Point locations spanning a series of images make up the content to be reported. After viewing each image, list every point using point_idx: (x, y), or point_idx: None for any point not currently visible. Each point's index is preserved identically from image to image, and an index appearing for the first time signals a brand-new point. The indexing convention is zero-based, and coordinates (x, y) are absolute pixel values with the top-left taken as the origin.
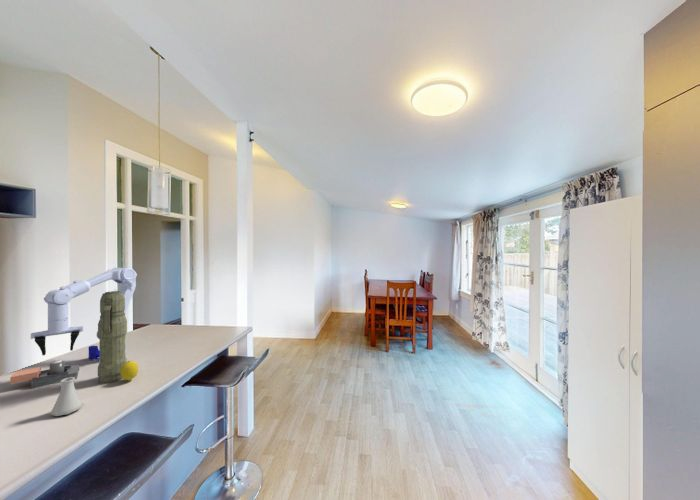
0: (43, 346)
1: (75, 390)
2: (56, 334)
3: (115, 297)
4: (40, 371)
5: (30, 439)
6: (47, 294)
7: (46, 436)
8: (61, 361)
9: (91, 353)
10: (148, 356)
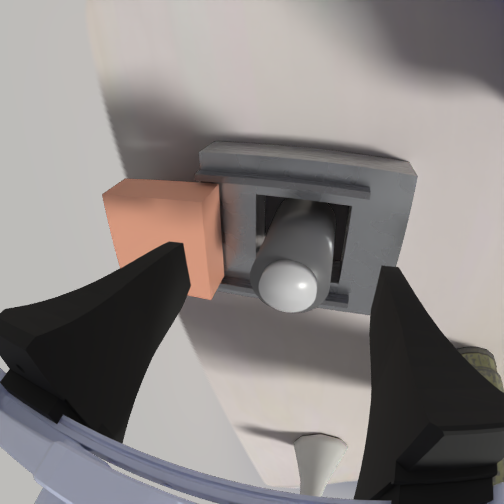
0: (144, 364)
1: (327, 480)
2: (188, 480)
3: None
4: (214, 197)
5: (274, 464)
6: None
7: (291, 469)
8: (313, 301)
9: None
10: None
